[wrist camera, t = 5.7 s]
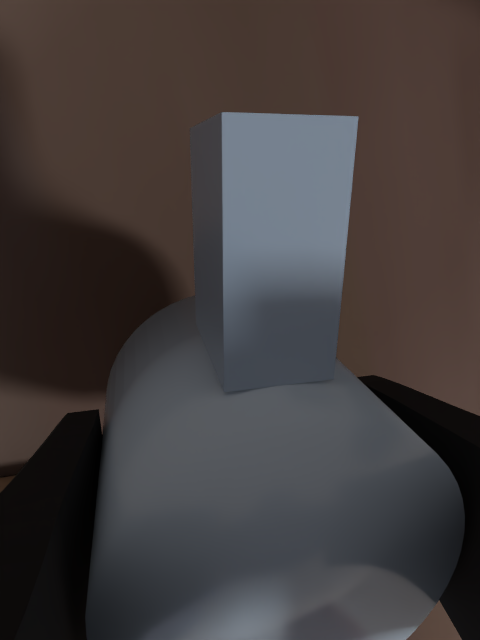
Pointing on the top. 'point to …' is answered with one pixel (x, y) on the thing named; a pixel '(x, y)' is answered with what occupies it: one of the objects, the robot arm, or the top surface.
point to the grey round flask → (263, 426)
